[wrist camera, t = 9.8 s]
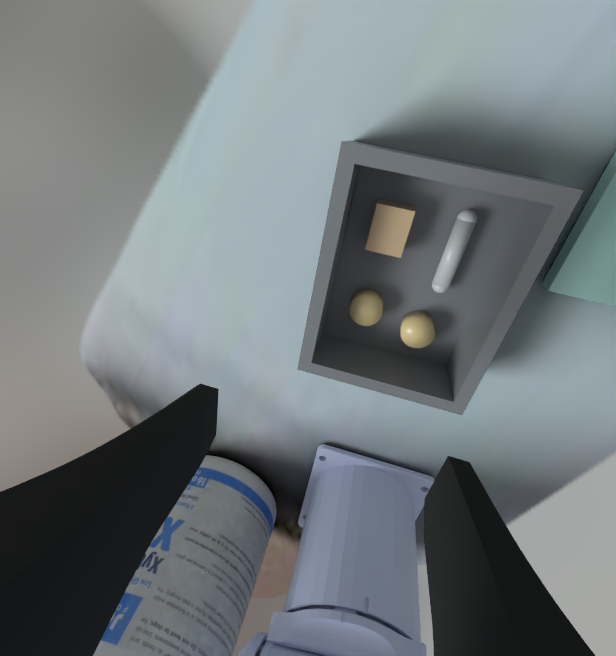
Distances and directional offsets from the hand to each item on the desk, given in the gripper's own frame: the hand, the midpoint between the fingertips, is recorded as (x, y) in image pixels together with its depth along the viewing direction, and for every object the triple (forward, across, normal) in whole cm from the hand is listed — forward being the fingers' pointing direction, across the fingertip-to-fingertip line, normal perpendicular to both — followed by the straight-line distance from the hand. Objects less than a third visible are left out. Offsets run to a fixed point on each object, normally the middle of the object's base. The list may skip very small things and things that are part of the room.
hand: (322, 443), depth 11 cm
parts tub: (+9, -2, -3) cm, 10 cm away
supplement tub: (+10, +6, +19) cm, 22 cm away
